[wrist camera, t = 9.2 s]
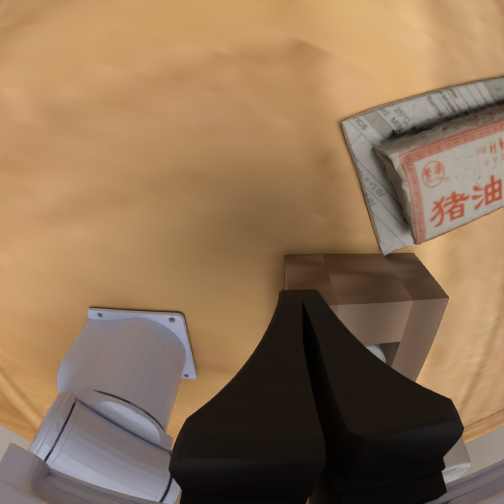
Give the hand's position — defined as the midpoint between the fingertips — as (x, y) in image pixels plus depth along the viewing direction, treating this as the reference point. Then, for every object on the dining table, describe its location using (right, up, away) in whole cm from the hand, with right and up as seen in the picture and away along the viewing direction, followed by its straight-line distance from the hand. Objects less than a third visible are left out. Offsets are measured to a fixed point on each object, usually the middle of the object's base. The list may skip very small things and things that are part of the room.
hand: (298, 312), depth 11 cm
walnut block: (+6, -8, +15) cm, 18 cm away
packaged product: (+14, +10, +7) cm, 18 cm away
